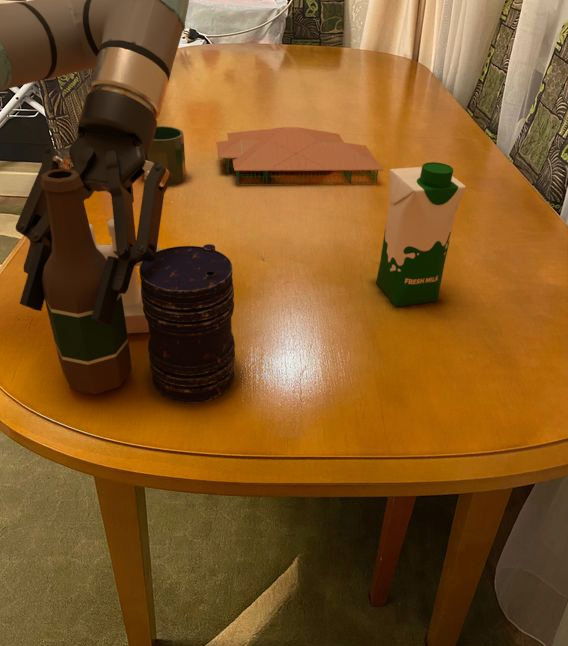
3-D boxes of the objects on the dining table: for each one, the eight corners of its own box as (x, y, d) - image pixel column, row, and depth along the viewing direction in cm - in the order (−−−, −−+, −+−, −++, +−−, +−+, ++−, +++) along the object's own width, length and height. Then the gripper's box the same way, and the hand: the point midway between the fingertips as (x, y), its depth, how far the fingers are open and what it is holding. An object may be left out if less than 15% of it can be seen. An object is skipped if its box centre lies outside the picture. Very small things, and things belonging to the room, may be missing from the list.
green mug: (193, 181, 121) (191, 136, 115) (153, 189, 117) (148, 142, 111) (168, 163, 128) (164, 119, 123) (129, 170, 124) (123, 125, 118)
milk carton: (392, 311, 87) (415, 176, 75) (367, 280, 94) (385, 151, 82) (446, 304, 89) (476, 172, 77) (418, 273, 96) (442, 148, 84)
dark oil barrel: (134, 389, 70) (114, 250, 59) (179, 343, 78) (168, 213, 67) (210, 414, 68) (203, 273, 57) (249, 364, 75) (249, 232, 64)
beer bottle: (102, 345, 75) (68, 152, 60) (146, 371, 71) (121, 173, 57) (48, 376, 69) (-5, 173, 55) (92, 406, 66) (49, 197, 52)
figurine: (170, 337, 79) (160, 231, 70) (94, 341, 77) (74, 234, 68) (169, 307, 84) (160, 206, 75) (99, 310, 83) (81, 207, 74)
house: (215, 147, 138) (213, 110, 133) (355, 148, 143) (359, 112, 138) (220, 186, 120) (219, 145, 115) (381, 185, 125) (386, 145, 120)
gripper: (222, 138, 66) (170, 340, 63) (56, 113, 69) (0, 305, 66) (201, 99, 59) (142, 326, 56) (17, 73, 62) (-48, 287, 59)
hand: (65, 314), depth 61 cm, fingers closed on beer bottle, 7 cm apart
